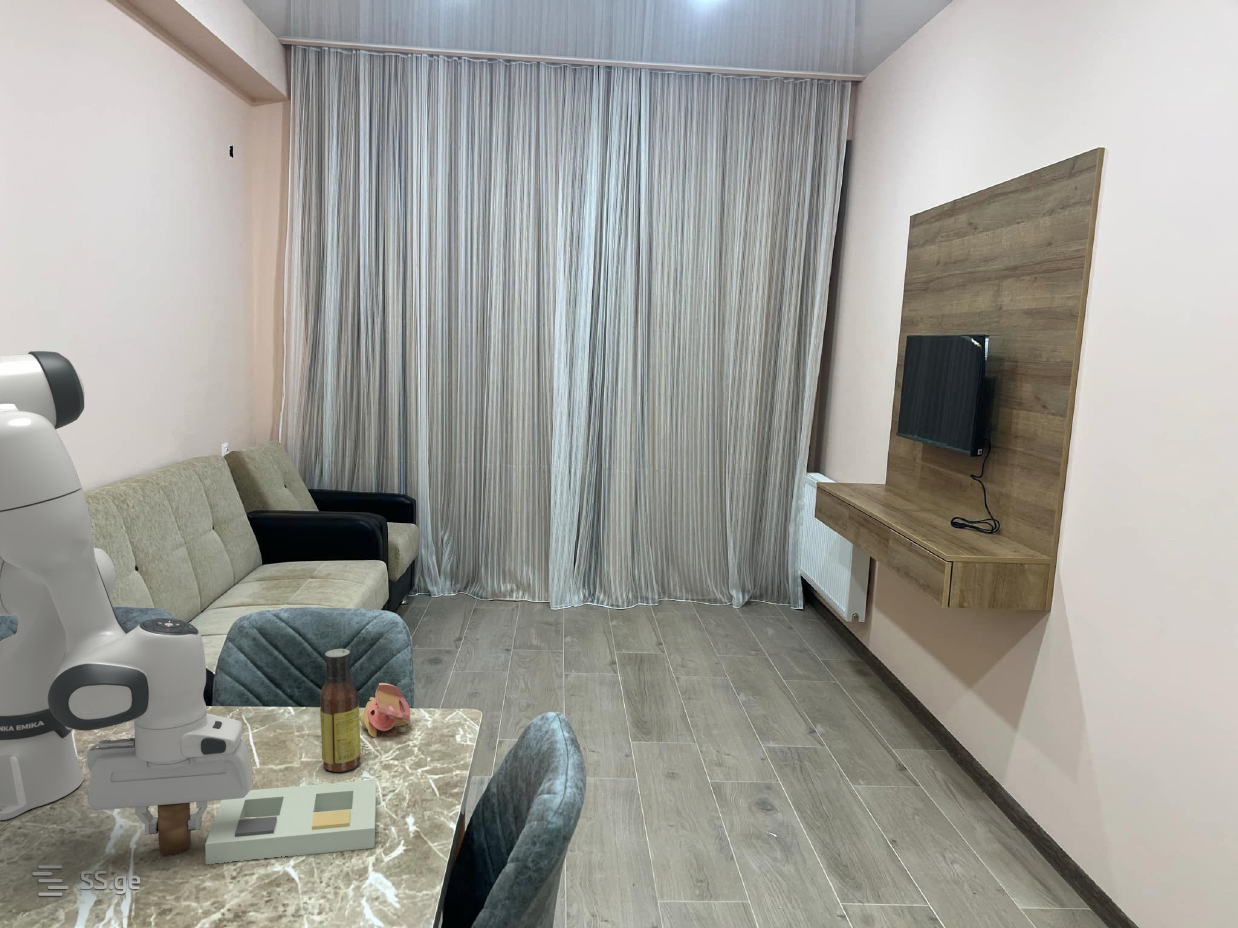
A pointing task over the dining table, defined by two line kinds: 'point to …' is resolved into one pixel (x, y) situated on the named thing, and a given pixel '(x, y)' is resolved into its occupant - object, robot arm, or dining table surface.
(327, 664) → the sauce bottle
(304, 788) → the socket block
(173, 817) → the plug
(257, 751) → the dining table surface
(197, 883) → the dining table surface
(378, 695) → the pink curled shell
